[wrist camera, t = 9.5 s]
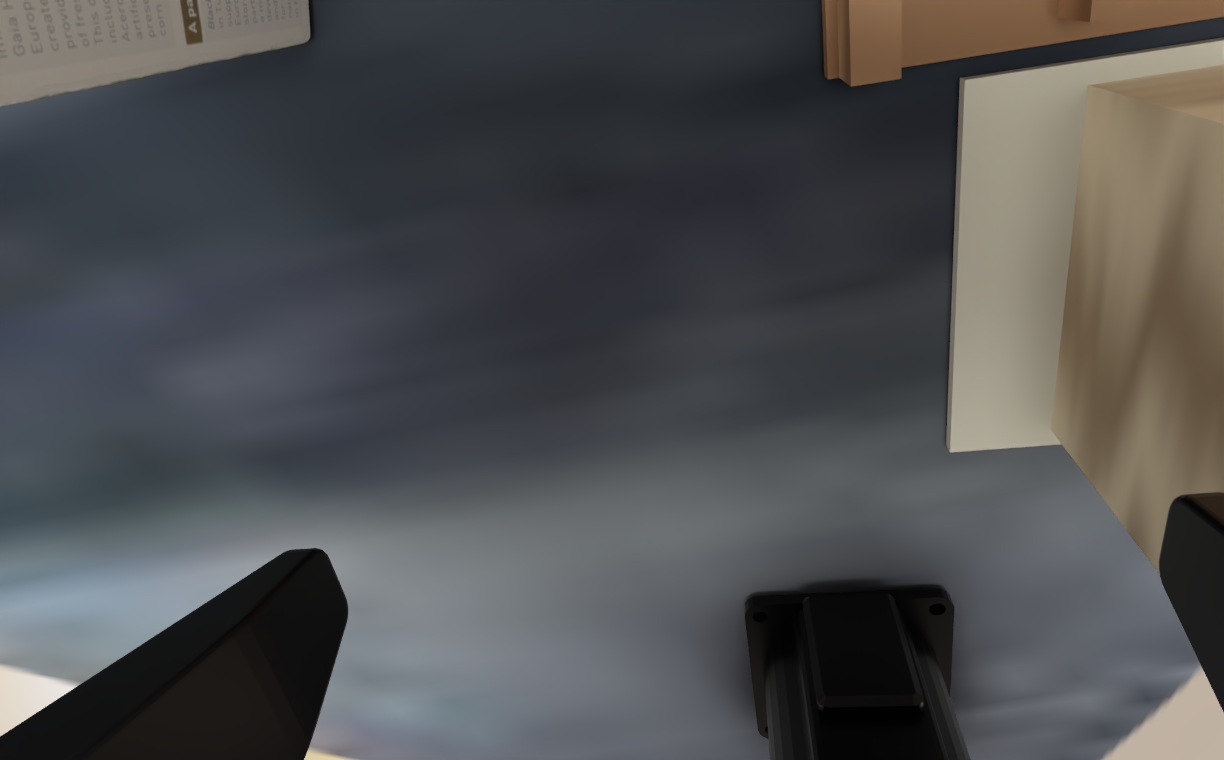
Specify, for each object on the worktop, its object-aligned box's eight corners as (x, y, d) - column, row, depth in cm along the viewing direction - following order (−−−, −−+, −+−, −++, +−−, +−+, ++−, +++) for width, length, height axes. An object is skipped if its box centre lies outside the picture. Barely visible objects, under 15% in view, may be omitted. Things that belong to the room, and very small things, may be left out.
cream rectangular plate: (1259, 421, 21) (1269, 429, 20) (946, 444, 22) (950, 452, 22) (1361, 16, 16) (1375, 17, 16) (959, 77, 18) (965, 79, 17)
